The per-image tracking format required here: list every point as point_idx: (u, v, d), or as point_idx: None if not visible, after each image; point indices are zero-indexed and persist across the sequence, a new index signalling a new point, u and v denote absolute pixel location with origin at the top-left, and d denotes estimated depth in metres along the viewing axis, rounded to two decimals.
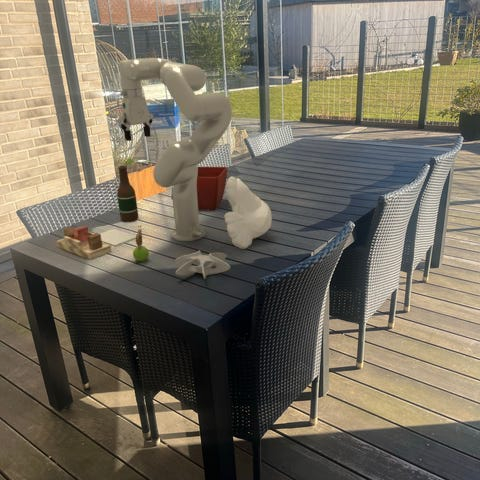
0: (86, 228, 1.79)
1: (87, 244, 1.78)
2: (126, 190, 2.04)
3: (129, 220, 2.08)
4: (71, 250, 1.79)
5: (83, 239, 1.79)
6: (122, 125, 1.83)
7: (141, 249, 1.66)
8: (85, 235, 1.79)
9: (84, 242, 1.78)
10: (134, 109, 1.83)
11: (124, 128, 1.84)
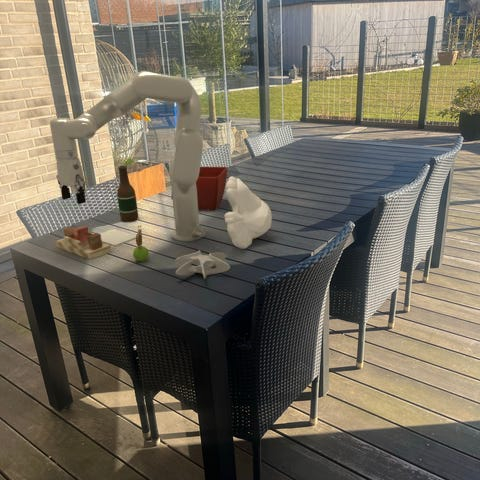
0: (86, 228, 1.79)
1: (87, 244, 1.78)
2: (126, 190, 2.04)
3: (129, 220, 2.08)
4: (71, 250, 1.79)
5: (83, 239, 1.79)
6: (84, 186, 1.68)
7: (141, 249, 1.66)
8: (85, 235, 1.79)
9: (84, 242, 1.78)
10: None
11: (84, 189, 1.69)
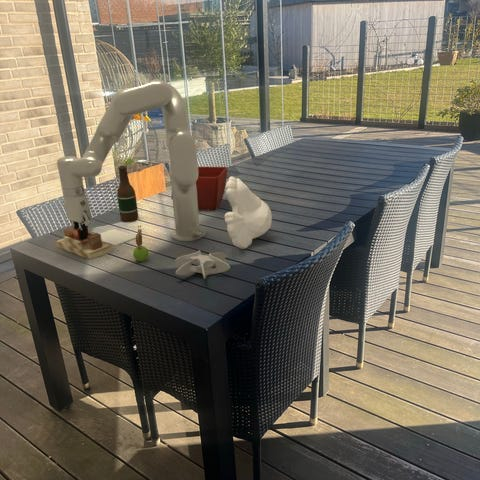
0: None
1: (87, 244, 1.78)
2: (126, 190, 2.04)
3: (129, 220, 2.08)
4: (71, 250, 1.79)
5: None
6: None
7: (141, 249, 1.66)
8: None
9: (84, 242, 1.78)
10: None
11: (86, 226, 1.77)
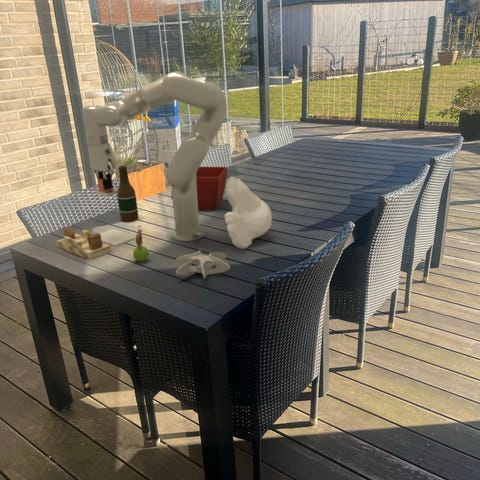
0: None
1: (111, 193, 1.81)
2: (126, 190, 2.04)
3: (129, 220, 2.08)
4: (71, 250, 1.79)
5: None
6: (111, 173, 1.79)
7: (141, 249, 1.66)
8: None
9: (108, 191, 1.81)
10: None
11: (111, 176, 1.80)
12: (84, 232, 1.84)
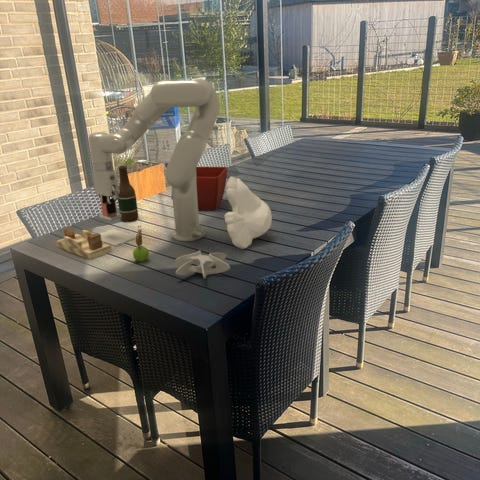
0: None
1: (115, 217, 1.85)
2: (126, 190, 2.04)
3: (129, 220, 2.08)
4: (71, 250, 1.79)
5: None
6: None
7: (141, 249, 1.66)
8: None
9: (112, 216, 1.86)
10: None
11: (115, 201, 1.84)
12: (84, 232, 1.84)
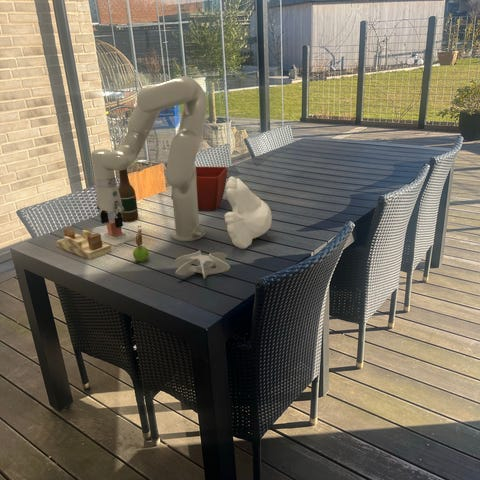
0: None
1: (119, 237, 1.89)
2: (126, 190, 2.04)
3: (129, 220, 2.08)
4: (71, 250, 1.79)
5: (116, 232, 1.90)
6: (122, 212, 1.83)
7: (141, 249, 1.66)
8: (118, 229, 1.90)
9: (117, 235, 1.89)
10: None
11: (121, 215, 1.84)
12: (84, 232, 1.84)
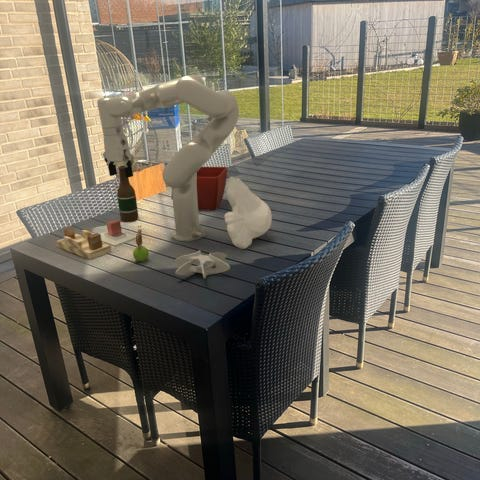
0: (119, 222, 1.90)
1: (119, 237, 1.89)
2: (126, 190, 2.04)
3: (129, 220, 2.08)
4: (71, 250, 1.79)
5: (116, 232, 1.90)
6: None
7: (141, 249, 1.66)
8: (118, 229, 1.90)
9: (117, 235, 1.89)
10: None
11: (131, 164, 1.80)
12: (84, 232, 1.84)
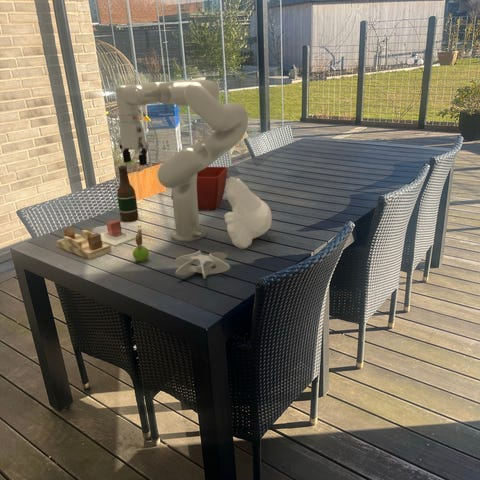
0: (119, 222, 1.90)
1: (119, 237, 1.89)
2: (126, 190, 2.04)
3: (129, 220, 2.08)
4: (71, 250, 1.79)
5: (116, 232, 1.90)
6: None
7: (141, 249, 1.66)
8: (118, 229, 1.90)
9: (117, 235, 1.89)
10: None
11: (146, 151, 1.82)
12: (84, 232, 1.84)
